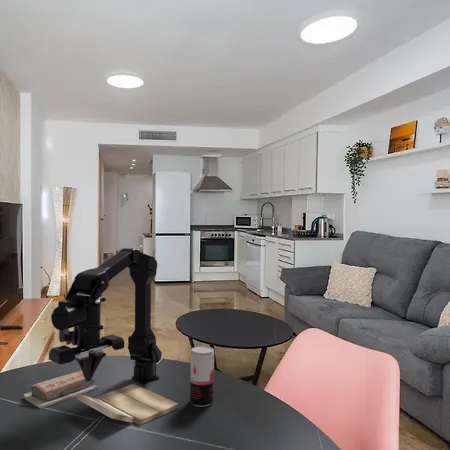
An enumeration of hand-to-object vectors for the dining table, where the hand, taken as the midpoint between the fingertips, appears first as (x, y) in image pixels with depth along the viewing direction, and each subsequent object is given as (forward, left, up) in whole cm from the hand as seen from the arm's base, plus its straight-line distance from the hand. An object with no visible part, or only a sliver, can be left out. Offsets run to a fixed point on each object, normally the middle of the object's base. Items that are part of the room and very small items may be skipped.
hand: (87, 381), depth 109 cm
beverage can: (-26, +16, -9) cm, 32 cm away
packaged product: (-2, -18, -10) cm, 20 cm away
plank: (-2, +4, -7) cm, 8 cm away
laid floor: (-13, +4, -9) cm, 16 cm away
